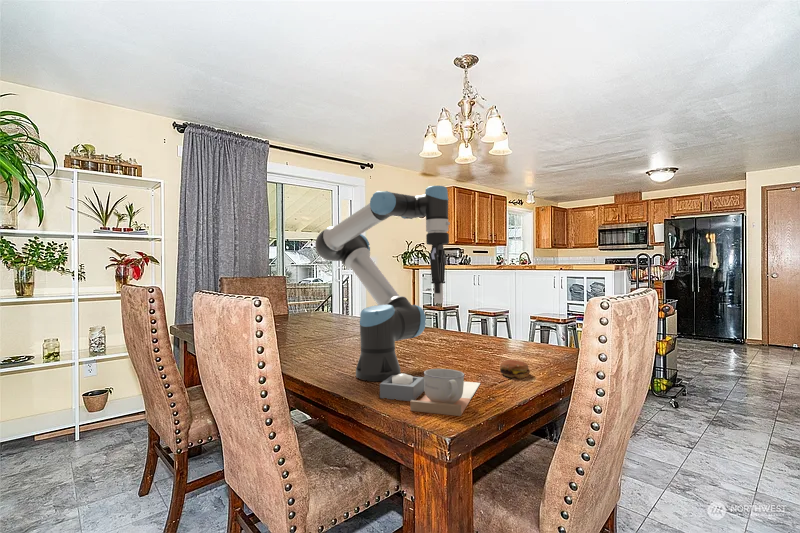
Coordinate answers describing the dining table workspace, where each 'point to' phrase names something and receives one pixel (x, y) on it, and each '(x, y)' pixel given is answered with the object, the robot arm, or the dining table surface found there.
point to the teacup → (443, 385)
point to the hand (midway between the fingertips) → (438, 302)
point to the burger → (514, 369)
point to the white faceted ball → (402, 379)
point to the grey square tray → (402, 389)
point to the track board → (444, 408)
